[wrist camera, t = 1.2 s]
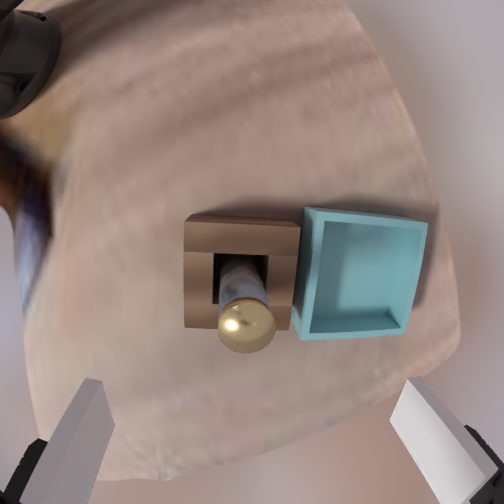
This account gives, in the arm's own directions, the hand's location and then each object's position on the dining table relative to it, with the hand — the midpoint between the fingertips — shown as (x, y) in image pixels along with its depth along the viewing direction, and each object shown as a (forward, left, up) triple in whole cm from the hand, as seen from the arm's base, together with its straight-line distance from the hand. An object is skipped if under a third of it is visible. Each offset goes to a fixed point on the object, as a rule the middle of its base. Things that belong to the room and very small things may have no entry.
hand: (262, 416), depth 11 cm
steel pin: (0, 0, -21) cm, 21 cm away
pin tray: (0, +13, -21) cm, 25 cm away
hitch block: (0, 0, -21) cm, 21 cm away
